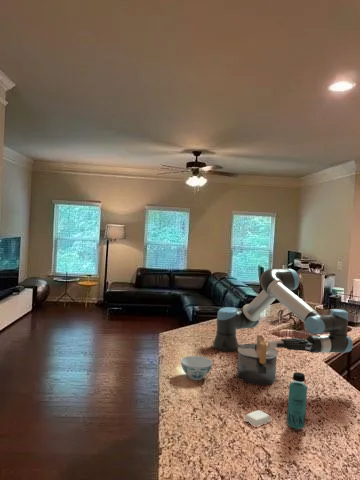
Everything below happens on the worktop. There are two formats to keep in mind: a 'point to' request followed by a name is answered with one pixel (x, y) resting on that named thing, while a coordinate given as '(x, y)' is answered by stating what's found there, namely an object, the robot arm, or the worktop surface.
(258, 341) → the lid
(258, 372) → the pot
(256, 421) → the soap
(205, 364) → the chinaware
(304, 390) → the beverage bottle
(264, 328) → the worktop surface
